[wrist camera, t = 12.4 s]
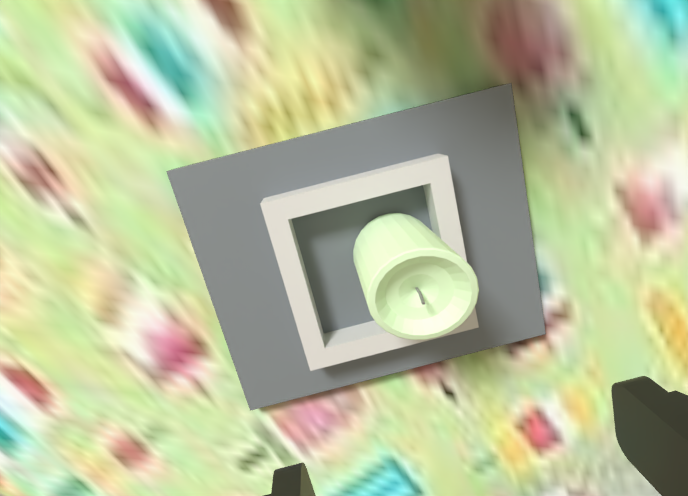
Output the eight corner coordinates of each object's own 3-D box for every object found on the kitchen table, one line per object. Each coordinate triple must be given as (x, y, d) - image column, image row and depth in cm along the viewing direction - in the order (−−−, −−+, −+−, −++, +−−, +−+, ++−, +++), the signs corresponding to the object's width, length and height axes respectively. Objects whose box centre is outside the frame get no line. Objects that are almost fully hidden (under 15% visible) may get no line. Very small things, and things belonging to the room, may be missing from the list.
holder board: (504, 84, 27) (527, 79, 24) (538, 327, 31) (561, 348, 28) (171, 169, 27) (155, 175, 24) (252, 401, 31) (246, 429, 28)
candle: (415, 301, 29) (454, 368, 21) (340, 276, 28) (353, 336, 20) (447, 228, 28) (501, 270, 20) (371, 200, 27) (396, 231, 19)
